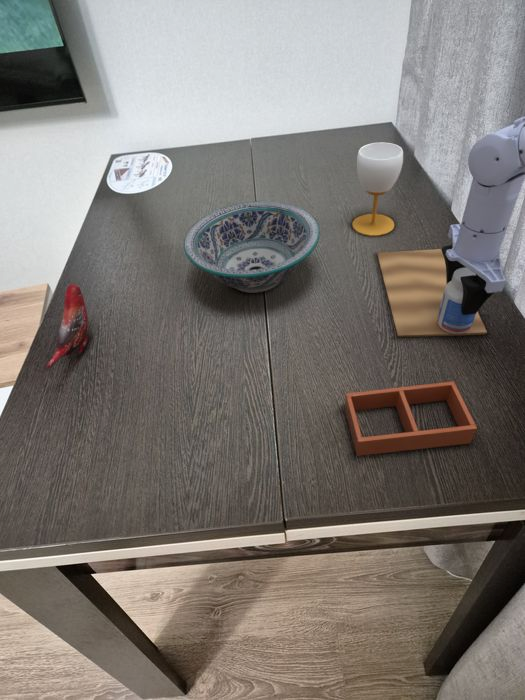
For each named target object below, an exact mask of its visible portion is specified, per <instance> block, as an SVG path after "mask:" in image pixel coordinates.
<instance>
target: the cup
mask: <svg viewBox="0 0 525 700" xmlns="http://www.w3.org/2000/svg"><path fill="white" fill-rule="evenodd" d="M403 164H404V150H403V148H402V147H401V146H400V145H398V144H395V143H392V142H382V141H381V142H371V143H368V144H365V145H363V146H361V147H360V148H359V150H358V151H357V157H356V173H357V177H358V182H359V185H360V187H361V188H362V189H363V191H365V192H366V193H367V194H369V195H371V196H373V203H372V212H371V213H366V214H363V215H362V214H361V215H359V216H358V217H356V218H354V220H353V221H352V228H353V230H354V231H355V232H356V233H358V234H360V235H363V236H368V237H381V236H384V235H387V234H389V233H391V232H392V231H394V228H395V222H394V220H393V219H392V218H390V217H389V216H387V215H385V214H380V213H377V211H378V202H379V201H378V200H379V196H382V195H385V194H386V193H388V192H389V191H390V190H392V189H393V187H394V186H395V184H396V183H397V181H398V179H399V176H400V175H401V172H402V168H403Z"/></svg>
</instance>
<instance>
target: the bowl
mask: <svg viewBox="0 0 525 700" xmlns="http://www.w3.org/2000/svg"><path fill="white" fill-rule="evenodd" d="M320 236H321V235H320V227H319V224H318V222H317V220H316V219H315V218H314V216H312V215H311V214H310V213H308V212H307V211H306V210H304V209H302V208H300V207H298V206H295V205H292V204H289V203H285V202H279V201H273V200H271V201H270V200H256V201H255V200H254V201H253V200H252V201H245V202H238V203H234V204H230V205H226V206H224V207H221V208H218V209H216V210H214V211H212V212H209V213H208V214H205V215H204V216H203V217H201V218H200V219H198V220H197V221H195V223H194V224H193V225H192V226H191V227H190V228H189V230H188V231H187V232H186V234H185V237H184V239H183V249H184V253H185V256H186V257H187V259H188V260H189V262H190V263H191V264H192V265H193V266H194V267H196V268H197V269H200V270H201V271H203V272H206V273H208V274H211V275H212V276H213V278H215V279H216V280H217V281H218V282H220V283H221V284H223V285H225V286H227V287H230V288H234V289H236V290H238V291H241V292H242V293H250V294H252V293H253V294H255V293H262V292H266V291H269V290H272V289H273V288H275V287H276V286H277V285H279V284H280V283H281V282H283V281H285V280H286V279H287V278H289V276H291V275H292V274H293V273H294V272H295V271H296V269H297V267H298V266H299V264H300V263H301V262H302V261H304V260H305V259H307V258H308V257H309V256H310V255H311V254H312V253H313V252H314V250H315V249H316V247H317V245H318V244H319V241H320Z"/></svg>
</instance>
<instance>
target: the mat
mask: <svg viewBox="0 0 525 700" xmlns="http://www.w3.org/2000/svg"><path fill="white" fill-rule="evenodd" d="M376 256H377V261H378V264H379V267H380V272H381V276H382V277H381V278H382V280H383V284H384V289H385V292H386V297H387V300H388V304H389V308H390V312H391V315H392V317H391V318H392V320H393V324H394V329H395V333H396V337H397V338H398V339H399V338H422V337H451V336H476V335H477V336H480V335H487V334H488V331H487V329H486V327H485V324H484V322H483V320H482V318H481V316H480V314H479V310H478V311H477V313H476V315H475V318H474V321H473V324H472V327H471V329H470V330H469V331H467V332H465V333H462V334H453V333H449V332H446V331H444V330H443V329H441V328H440V326H439V325H438V322H437V319H438V314H439V310H440V306H441V302H442V298H443V294H444V290H445V287H446V285H447V282H446V264H445V259H444V256H443V253H442V248H438V249H437V248H434V249H417V250H416V249H415V250H399V251H398V250H397V251H396V250H395V251H380V252H377V253H376Z"/></svg>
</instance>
